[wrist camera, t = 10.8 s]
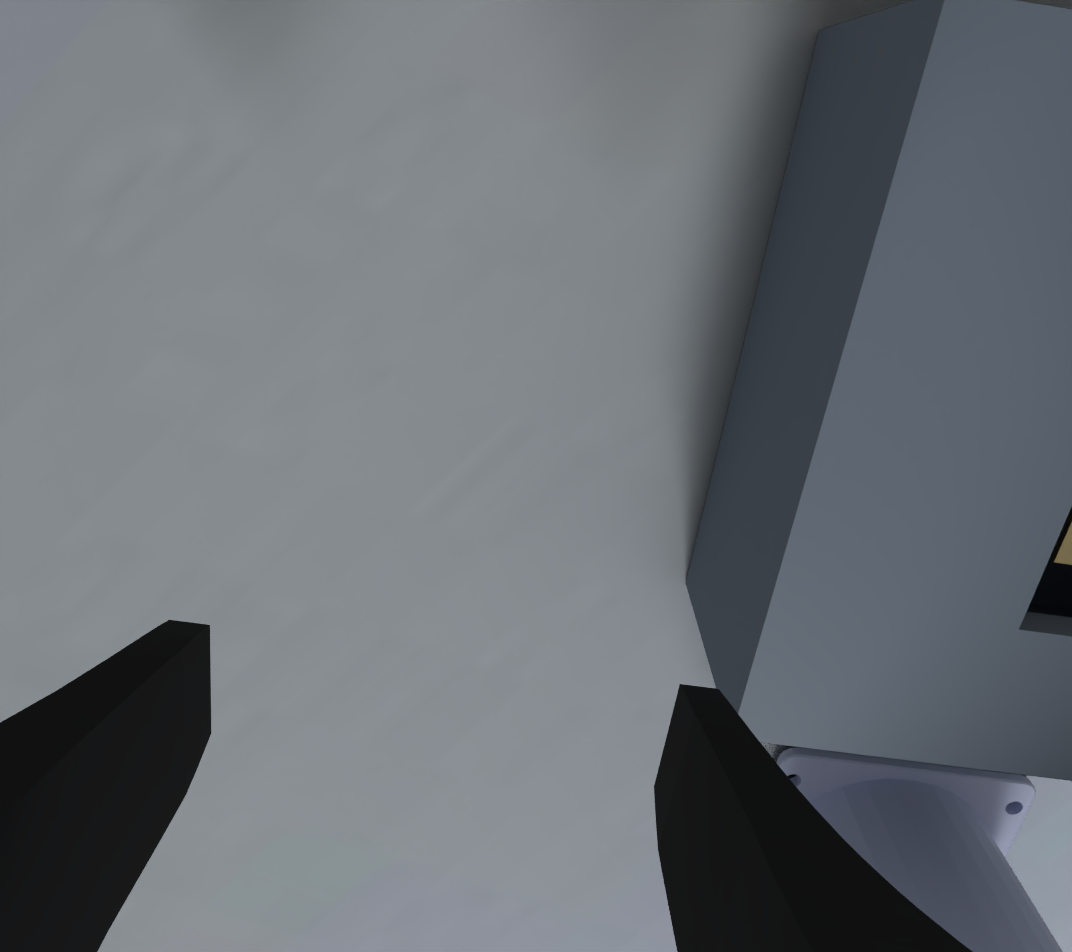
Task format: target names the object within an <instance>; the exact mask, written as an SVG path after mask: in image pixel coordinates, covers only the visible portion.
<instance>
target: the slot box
mask: <svg viewBox="0 0 1072 952" xmlns="http://www.w3.org/2000/svg"><path fill="white" fill-rule="evenodd" d="M1071 507H1072V9H1067V8H1060V7H1054V6H1048V5H1042V4H1036V3H1030V2H1023V1H1017V0H912V1H909V2H906V3H903V4H900V5H897V6H893V7H890V8H887V9H884V10H881V11H878V12H875V13H871V14H868V15H865V16H862V17H859V18H856V19H853V20H849V21H846V22H843V23H840V24H837V25H834V26H831V27H827V28H824V29H821V30H819V32H818V36H817V41H816V45H815V49H814V53H813V57H812V61H811V65H810V70H809V74H808V78H807V82H806V86H805V90H804V94H803V99H802V103H801V107H800V111H799V115H798V119H797V123H796V128H795V132H794V136H793V140H792V144H791V148H790V153H789V157H788V161H787V165H786V169H785V173H784V177H783V182H782V186H781V190H780V194H779V198H778V202H777V206H776V211H775V215H774V219H773V223H772V227H771V231H770V235H769V240H768V244H767V248H766V252H765V256H764V260H763V264H762V269H761V273H760V277H759V281H758V285H757V289H756V294H755V298H754V302H753V306H752V310H751V314H750V318H749V323H748V327H747V331H746V335H745V339H744V343H743V347H742V352H741V356H740V360H739V364H738V368H737V372H736V376H735V381H734V385H733V389H732V393H731V397H730V401H729V406H728V410H727V414H726V418H725V422H724V426H723V430H722V435H721V439H720V443H719V447H718V451H717V455H716V459H715V464H714V468H713V472H712V476H711V480H710V484H709V488H708V493H707V497H706V501H705V505H704V509H703V513H702V518H701V522H700V526H699V530H698V534H697V538H696V542H695V547H694V551H693V555H692V559H691V563H690V567H689V571H688V576H687V580H686V586H687V589H688V593H689V596H690V600H691V603H692V606H693V610H694V613H695V617H696V620H697V624H698V627H699V630H700V634H701V637H702V641H703V644H704V648H705V651H706V655H707V658H708V661H709V665H710V668H711V672H712V675H713V679H714V682H715V685H716V689H719V690H720V691H721V692H722V694H723V695H724V696H725V697H726V699H727V700H728V701H729V703H730V704H731V705H732V706H733V708H734V709H735V710H736V712H737V713H738V714H739V716H740V717H741V718H742V720H743V721H744V722H745V724H746V725H747V726H748V727H749V729H750V730H751V731H752V733H753V734H754V735H755V737H756V738H757V739H758V740H759V742H762V743H770V744H778V745H787V746H795V747H803V748H811V749H819V750H827V751H835V752H843V753H851V754H859V755H868V756H876V757H884V758H892V759H900V760H908V761H916V762H924V763H932V764H940V765H948V766H957V767H965V768H973V769H981V770H989V771H997V772H1005V773H1013V774H1021V775H1029V776H1038V777H1046V778H1054V779H1062V780H1070V781H1072V565H1069V564H1062V563H1055V562H1053V561H1052V560H1051V559H1050V556H1051V553H1052V551H1053V549H1054V546H1055V544H1056V542H1057V539H1058V537H1059V535H1060V532H1061V530H1062V528H1063V525H1064V523H1065V521H1066V518H1067V516H1068V514H1069V511H1070V509H1071Z"/></svg>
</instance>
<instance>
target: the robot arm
mask: <svg viewBox="0 0 1072 952" xmlns="http://www.w3.org/2000/svg"><path fill="white" fill-rule="evenodd" d="M210 735H211V685H210V625H205V624H197V623H189V622H181V621H173V620H168V621H167V622H165V623H163V624H162V625H160V626H158V627H157V628H155V629H153V630H152V631H150V632H149V633H147V634H145V635H144V636H142V637H141V638H139V639H138V640H136V641H134V642H133V643H131V644H130V645H128V646H127V647H125V648H124V649H122V650H121V651H119V652H117V653H116V654H114V655H113V656H111V657H110V658H108V659H107V660H105V661H103V662H102V663H100V664H99V665H97V666H95V667H94V668H92V669H91V670H89V671H87V672H86V673H84V674H83V675H81V676H79V677H78V678H76V679H75V680H73V681H71V682H70V683H68V684H67V685H65V686H63V687H62V688H60V689H59V690H57V691H55V692H54V693H52V694H50V695H48V696H46V697H45V698H43V699H41V700H39V701H38V702H36V703H34V704H32V705H31V706H29V707H27V708H25V709H24V710H22V711H20V712H18V713H17V714H15V715H13V716H11V717H9V718H8V719H6V720H4V721H2V722H1V723H0V952H97V951H98V949H99V947H100V945H101V943H102V942H103V940H104V938H105V936H106V934H107V932H108V930H109V928H110V927H111V925H112V923H113V921H114V920H115V918H116V916H117V914H118V913H119V911H120V909H121V908H122V906H123V904H124V902H125V901H126V899H127V897H128V895H129V894H130V892H131V890H132V888H133V887H134V885H135V883H136V881H137V880H138V878H139V876H140V874H141V873H142V871H143V869H144V868H145V866H146V864H147V862H148V861H149V859H150V857H151V855H152V854H153V852H154V850H155V848H156V847H157V845H158V843H159V841H160V840H161V838H162V836H163V834H164V833H165V831H166V829H167V827H168V826H169V824H170V822H171V820H172V819H173V817H174V815H175V813H176V811H177V810H178V808H179V806H180V804H181V802H182V801H183V799H184V797H185V795H186V793H187V791H188V788H189V786H190V784H191V781H192V779H193V777H194V774H195V772H196V770H197V767H198V765H199V762H200V760H201V757H202V755H203V752H204V750H205V747H206V745H207V742H208V740H209V737H210ZM792 774H795V775H796V776H795V777H793V778H788V777H787V776H789V775H792ZM654 793H655V811H656V827H657V840H658V851H659V857H660V862H661V868H662V873H663V878H664V884H665V889H666V894H667V900H668V905H669V910H670V915H671V920H672V926H673V931H674V936H675V941H676V946H677V951H678V952H1062V950H1061V948H1060V947H1059V945H1058V943H1057V942H1056V940H1055V939H1054V937H1053V935H1052V934H1051V932H1050V930H1049V929H1048V927H1047V925H1046V924H1045V922H1044V921H1043V919H1042V917H1041V916H1040V914H1039V912H1038V911H1037V909H1036V908H1035V906H1034V904H1033V903H1032V901H1031V899H1030V898H1029V896H1028V895H1027V893H1026V891H1025V890H1024V888H1023V886H1022V885H1021V883H1020V881H1019V880H1018V878H1017V877H1016V875H1015V873H1014V872H1013V870H1012V868H1011V867H1010V865H1009V864H1008V862H1007V860H1006V859H1005V857H1006V855H1007V853H1008V851H1009V849H1010V847H1011V845H1012V843H1013V841H1014V839H1015V837H1016V835H1017V833H1018V830H1019V828H1020V826H1021V824H1022V822H1023V820H1024V818H1025V816H1026V814H1027V812H1028V810H1029V808H1030V806H1031V803H1032V801H1033V799H1034V797H1035V794H1036V790H1035V787H1034V786H1033V784H1032V783H1031V782H1030V780H1029V779H1028V778H1027V777H1025V776H1022V775H1016V774H1008V773H1000V772H992V771H984V770H976V769H968V768H960V767H952V766H943V765H935V764H927V763H919V762H911V761H903V760H895V759H887V758H879V757H871V756H862V755H854V754H846V753H838V752H830V751H822V750H814V749H806V748H789V749H787V750H785V751H783V752H782V753H781V754H780V756H779V757H778V759H777V762H775V761H774V759H773V758H772V757H771V756H770V754H769V753H768V752H767V751H766V749H765V748H764V747H763V746H762V744H761V743H760V742H759V740H758V739H757V738H756V737H755V735H754V734H753V733H752V731H751V730H750V729H749V727H748V726H747V725H746V724H745V722H744V721H743V720H742V718H741V717H740V716H739V714H738V713H737V712H736V710H735V709H734V708H733V706H732V705H731V704H730V703H729V701H728V700H727V699H726V697H725V696H724V695H723V694H722V692H721V691H720V690H719V689H714V688H706V687H698V686H690V685H682V684H680V686H679V690H678V694H677V698H676V702H675V706H674V710H673V714H672V718H671V722H670V726H669V730H668V734H667V738H666V742H665V746H664V750H663V754H662V758H661V762H660V766H659V770H658V774H657V777H656V781H655V785H654ZM1011 802H1014V803H1012V804H1010V805H1008V804H1009V803H1011Z"/></svg>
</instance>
